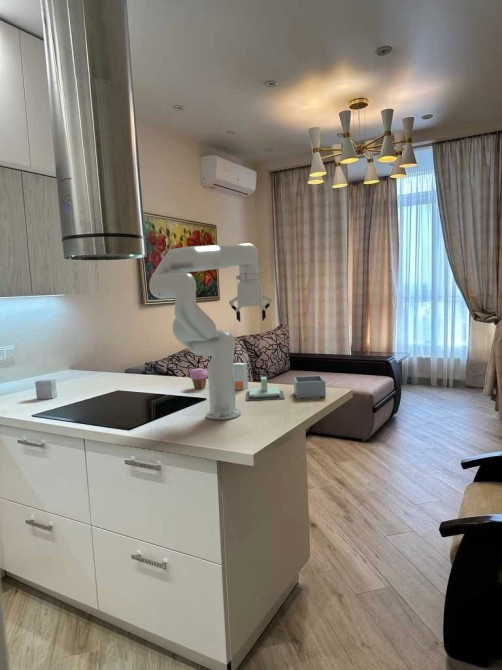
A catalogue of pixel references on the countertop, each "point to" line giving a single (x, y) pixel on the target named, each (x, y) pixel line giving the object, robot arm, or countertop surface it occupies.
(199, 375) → the cupcake
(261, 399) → the mat
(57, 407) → the countertop surface
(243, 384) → the skincare box
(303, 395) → the tub
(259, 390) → the lid
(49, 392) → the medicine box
